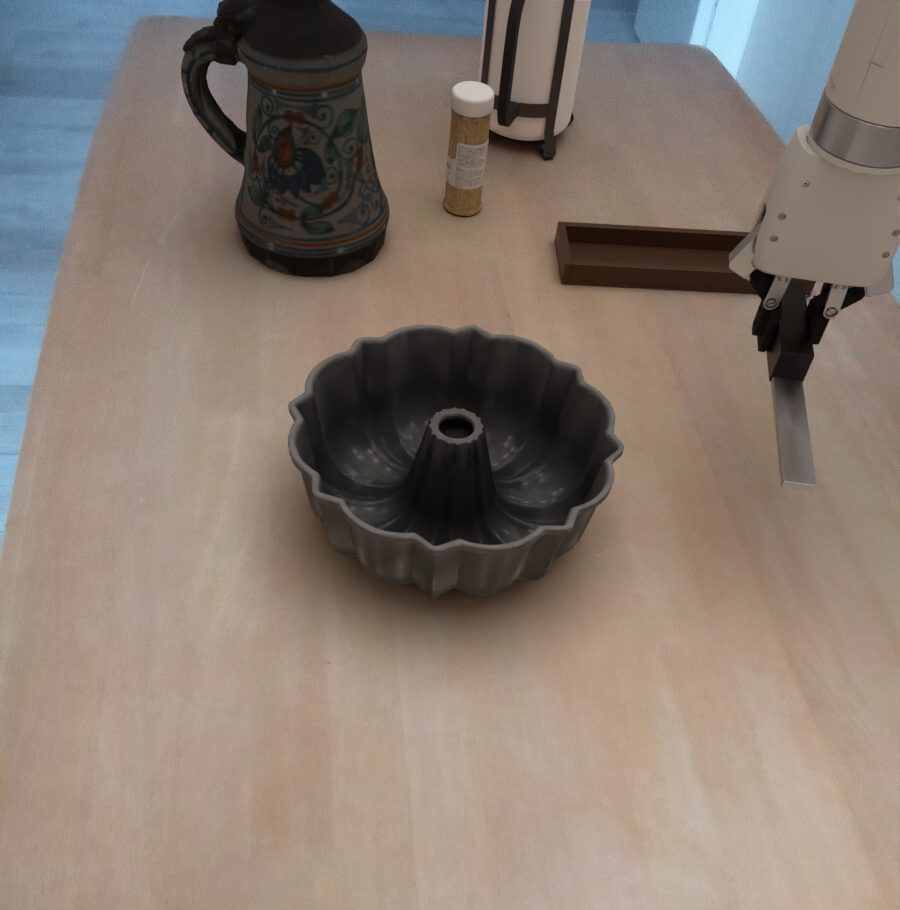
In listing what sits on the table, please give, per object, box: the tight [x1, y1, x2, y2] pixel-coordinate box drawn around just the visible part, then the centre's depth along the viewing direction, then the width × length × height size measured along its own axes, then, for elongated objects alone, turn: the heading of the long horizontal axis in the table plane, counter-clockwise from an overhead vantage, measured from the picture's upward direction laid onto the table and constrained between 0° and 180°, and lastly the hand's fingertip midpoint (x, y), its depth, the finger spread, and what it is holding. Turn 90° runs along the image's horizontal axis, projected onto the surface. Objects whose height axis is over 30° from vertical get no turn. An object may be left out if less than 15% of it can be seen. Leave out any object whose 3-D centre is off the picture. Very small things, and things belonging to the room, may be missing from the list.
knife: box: [765, 280, 817, 492], centre depth 80 cm, size 22×3×3 cm, turn 172°
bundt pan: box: [287, 324, 625, 599], centre depth 84 cm, size 26×26×10 cm
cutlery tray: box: [554, 220, 817, 297], centre depth 112 cm, size 28×8×2 cm, turn 92°
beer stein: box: [180, 0, 390, 278], centre depth 101 cm, size 16×19×25 cm
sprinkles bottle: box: [442, 80, 494, 217], centre depth 112 cm, size 5×5×13 cm
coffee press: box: [477, 0, 592, 160], centre depth 117 cm, size 17×16×30 cm
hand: (781, 343), depth 84 cm, fingers closed on knife, 2 cm apart
